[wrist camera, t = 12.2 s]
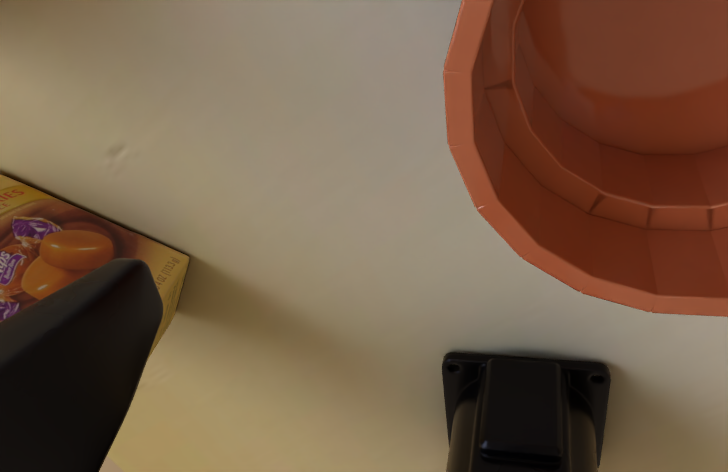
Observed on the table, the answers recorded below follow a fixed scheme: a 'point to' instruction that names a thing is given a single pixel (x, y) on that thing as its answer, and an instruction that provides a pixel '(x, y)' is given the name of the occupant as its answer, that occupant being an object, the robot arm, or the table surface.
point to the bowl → (599, 142)
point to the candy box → (70, 250)
